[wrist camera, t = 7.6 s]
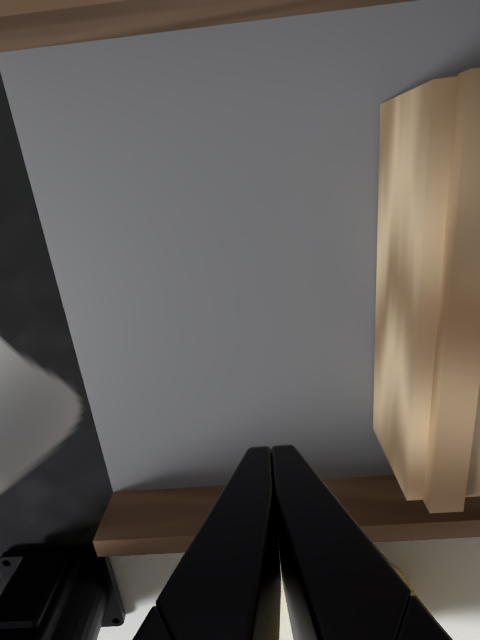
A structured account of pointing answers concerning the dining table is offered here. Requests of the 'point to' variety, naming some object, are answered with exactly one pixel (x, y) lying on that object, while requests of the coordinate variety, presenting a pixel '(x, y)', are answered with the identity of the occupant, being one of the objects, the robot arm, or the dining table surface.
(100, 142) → the bay
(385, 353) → the brown wooden box
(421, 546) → the dining table surface
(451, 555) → the dining table surface
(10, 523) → the dining table surface
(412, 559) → the dining table surface
